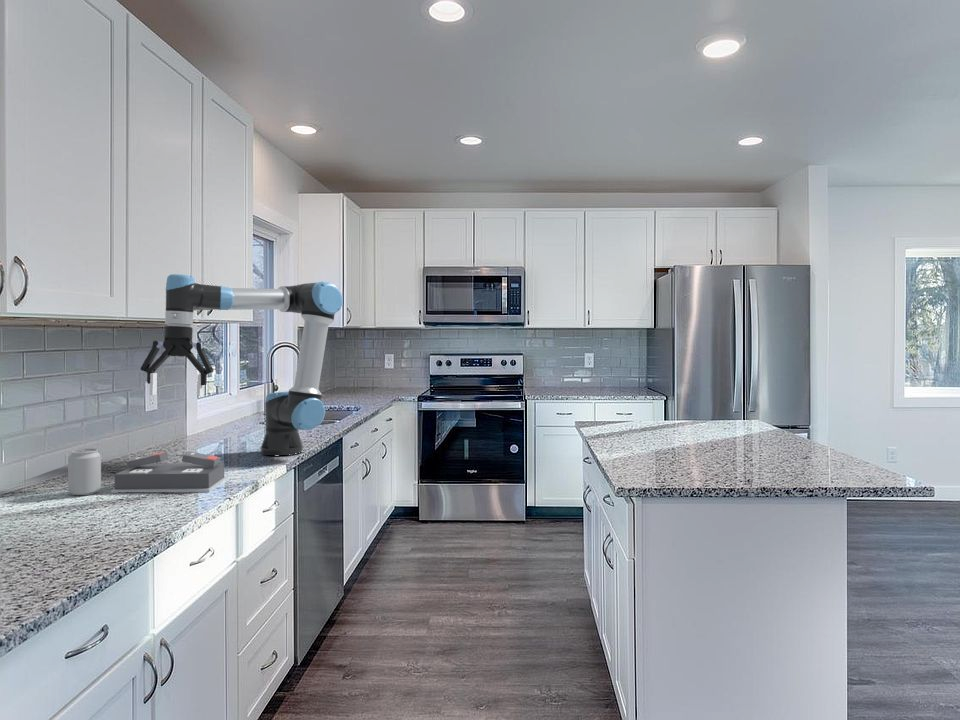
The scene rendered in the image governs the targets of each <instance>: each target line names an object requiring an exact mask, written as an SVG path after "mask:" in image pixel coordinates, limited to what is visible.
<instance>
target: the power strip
mask: <svg viewBox="0 0 960 720" xmlns="http://www.w3.org/2000/svg"><path fill="white" fill-rule="evenodd" d="M226 479H227V480H228V475H227V476H225V463H219V464H218V465H217V466H215V467H214V468H212V467H207V466H202V465H197V464H192V463H152V464H147V465H142V466H137V467H133V468H129V467H128V468H126V469H124V470H122V471H119V472H117V473H115V474H114V488H113V489H111V490H110V493H111V494H119V493H118V492H174V493H211V492H212V491H213V490H215V487H216V488H217V487H219V486H220V485H221V484H222V483H224V482H225V481H227V480H226ZM224 480H225V481H224ZM223 481H224V482H223ZM219 484H220V485H219ZM211 490H212V491H211Z"/></svg>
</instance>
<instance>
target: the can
mask: <svg viewBox="0 0 960 720" xmlns="http://www.w3.org/2000/svg"><path fill="white" fill-rule="evenodd" d="M98 451H99V449H97V448H80V449H79V448H78V449H73V450H71V451H70V455H69V456H68V457H67V481H68V486H67V489H68V491H67V492H68V493H69V494H71V495H72V496H73V495H86V496H90V495H89V494H92V495H95V494H97V493H98V492H99V491H100V490H102V453H100V452H98ZM96 492H97V493H96ZM94 493H95V494H94Z"/></svg>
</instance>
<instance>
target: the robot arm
mask: <svg viewBox="0 0 960 720" xmlns="http://www.w3.org/2000/svg"><path fill="white" fill-rule="evenodd" d="M165 284H166V285H165V312H164V315H165V317H164V320H165V321H164V324H165V327H164V341H160V340H153V341H152V346H151V349H150V350H149V352H148V354H147V356H146V357H145V360H144V361H143V363H142V365H141V367H140V371H142V372H145V373H146V376H147V377H146V383H147V384H149V396H154V395H157V390H158V389H157V385H158V373H157V372H155V371H156V370H158V369H159V367H160V366H161V365H163V363H165V362H166V361H167V359H168V358H169V357H170V356H171V357H185V358H186V359H188V360H189V362H190V363H191V364H192V365H193V366H194V367H195V369H196V370H197V372H199V374H197V385H196V386H197V390H196V391H197V392H196V397H203V396H204V386H206V385H207V380H208V377H207V375H209V374H212V373H213V372H215V371H214V368H213V366H212V363H211V362H210V360H209V358H208V356H207V354H206V352H205V350H204V349H205V348H204V342H193V331H194V329H193V327H192V326H193V324H194V311H211V310H212V311H214V310H216V311H229V310H230V311H231V310H233V311H234V310H241V311H242V310H245V311H246V310H248V311H249V310H279V312H281V313H294V314H300V317H301V318H302V319H303V322H304V323H303V330H302V336H301V341H300V347H299V348H300V349H299V354H298V362H297V366H296V372H295V378H294V382H293V383H294V385H293V386H292V387H291V388H289V389H288V391H279V392H278V391H276V392H269V393H267V394H266V396H265V402H264V404H265V434H264V436H263V440H262V442H261V446H260V454H261V455H262V454H263V455H262V456H266V455H289V454H295V453H299V452H301V451H302V450H303V451H304V446H303V445H304V444H303V442H302V438H301V436H300V433H299V431H311V430H314V429H316V428H317V427H318V426H320V425H321V423H322V422H323V421H324V418H325V416H326V406H325V405H324V403H323V402H322V396H323V394H322V392H321V391H320V381H321V375H322V369H323V361H324V355H325V349H326V343H327V338H328V331H329V326H330V325H331V324H332V323H333V322H334V320H335V314H337V313H338V312H339V311H340V310H341V309H342V307H343V303H344V302H343V300H344V299H343V294H342V292H341V291H340V289H339V287H337V286H336V285H335V284H334V283H332V282H329V281H317V282H306V283H301V284H296V285H295V284H294V285H286V286H283V285H282V286H279V287H278V288H253V287H252V288H251V287H250V288H248V287H247V288H246V287H245V288H244V287H243V288H242V287H241V288H240V287H226V286H222V285H212V284H201V283H196V282H195V277H194V276H192V275H187V274H179V273H178V274H176V273H175V274H169V275H168V276H167V278H166V283H165ZM162 347H163V348H164V351H163V352H162V353H161V354H160V356H159V357H158V358H157V359H156V356H157V355H158V353H159V351H160V349H161V348H162ZM193 348H194V349H195V350H196V352H197V353H198V354H197V355H198V357H199V358H200V360H201V362H200V361H199V360H198V359H197V357H195V354H194V353H193V351H192V350H193ZM155 359H156V360H155ZM154 360H155V361H154ZM289 456H290V455H289Z"/></svg>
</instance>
